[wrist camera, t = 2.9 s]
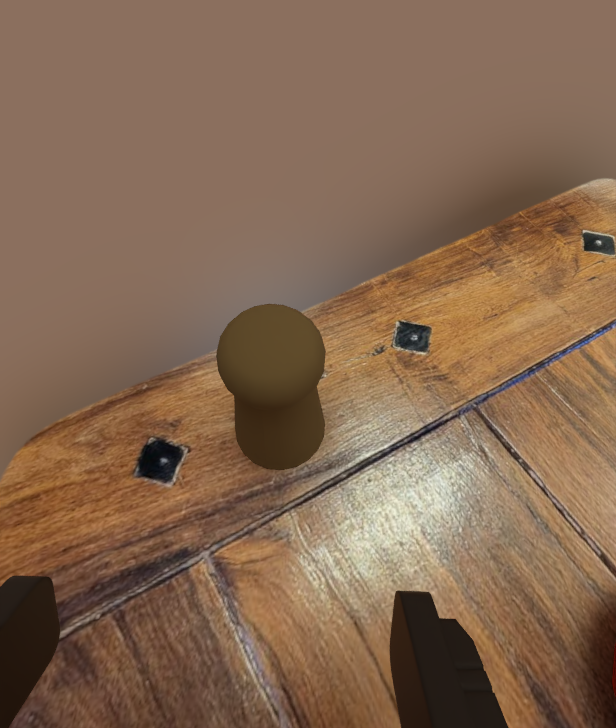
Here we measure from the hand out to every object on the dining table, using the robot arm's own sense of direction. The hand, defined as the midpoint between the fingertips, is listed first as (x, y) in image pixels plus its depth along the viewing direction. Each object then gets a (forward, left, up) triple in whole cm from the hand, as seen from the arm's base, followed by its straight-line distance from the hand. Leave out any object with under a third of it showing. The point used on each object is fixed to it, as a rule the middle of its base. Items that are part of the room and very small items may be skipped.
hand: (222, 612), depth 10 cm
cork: (-3, +10, -16) cm, 19 cm away
